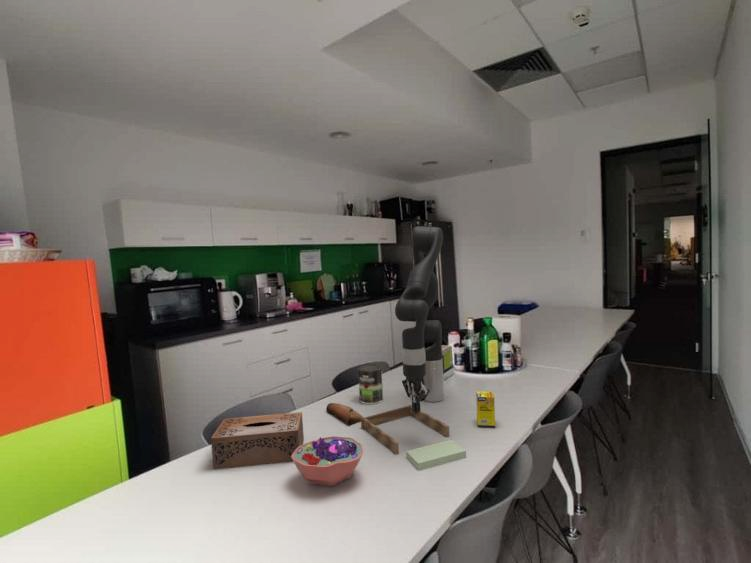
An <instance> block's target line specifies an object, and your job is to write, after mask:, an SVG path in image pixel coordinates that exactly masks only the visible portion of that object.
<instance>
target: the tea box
mask: <svg viewBox="0 0 751 563" xmlns="http://www.w3.org/2000/svg"><path fill="white" fill-rule="evenodd" d="M453 358H454V357H453V346H452V345H447V344H445V345H444V344H442V362H443V382H444V381H445V380H447V379H448V378H450V377H451V376H453V375H454V361H453V360H454V359H453Z"/></svg>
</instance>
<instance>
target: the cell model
mask: <svg viewBox="0 0 751 563" xmlns="http://www.w3.org/2000/svg"><path fill="white" fill-rule="evenodd" d="M364 452H365V451H364V448H363V445H362V443H360V442H358V441H357V440H356V439H354V438H351V437H349V436H348V437H346V436H344V437H343V436H327V437H319V438H317V439H313V440H311V441H309V442H306V443H303V445H301V446H299V447H298V448H297V449H296V450H295V451H294V452H293V453H292V456H291V457H292V459H293V462H292V463H293V464H294V466H295V467H296V469H297V471H298V472H299V474H300V475H301V476H302V478H303V479H304V481H305V482H307V484H311V485H315V486H316V485H320V486H326V487H327V486H329V487H334V486H336V485H338V484H339V483H341V482H343V481H346V480H348V479H349V478H350V477H351V476H352V475H353V473H354V472H355V470H356V469H357V467H358V465H359V463H360V461H361V459H362V457H363V455H364Z"/></svg>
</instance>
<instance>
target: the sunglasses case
mask: <svg viewBox="0 0 751 563" xmlns="http://www.w3.org/2000/svg"><path fill="white" fill-rule="evenodd" d="M326 411H327V412H328V413H330V414H332V415H334V416H335V417H336V418H339V420H341V421H343V423H346V424H347V425H349V426H353V425H356V424H359V423H361V418H365V416H363V415H361V413H358V411H356V410H354V409H353V407H351V406H348V405H344V404H342V403H336V402H329V403H328V404H327V406H326Z"/></svg>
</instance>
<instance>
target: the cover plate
mask: <svg viewBox="0 0 751 563" xmlns="http://www.w3.org/2000/svg"><path fill="white" fill-rule="evenodd" d="M405 453H406V454H405V455H406V459H408V461H409V462H410V463H411V464H412V465H413V466H414V467H415V468H416V469H417V470H418V471H421V470H422V471H423V470H425V469H428V468H429V469H430V468H432V467H436V466H439V465H443V464H446V463H451V462H454V461H458V460H461V459H465V458H467V450H466V449H464V448H463V447H462V446H460V445H459V444H458V443H457V442H455V441H454V440H452V439H449V440H445V441H441V442H437V443H433V444H429V445H426V446H421V447H418V448H413V449H409V450H406V452H405Z"/></svg>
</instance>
